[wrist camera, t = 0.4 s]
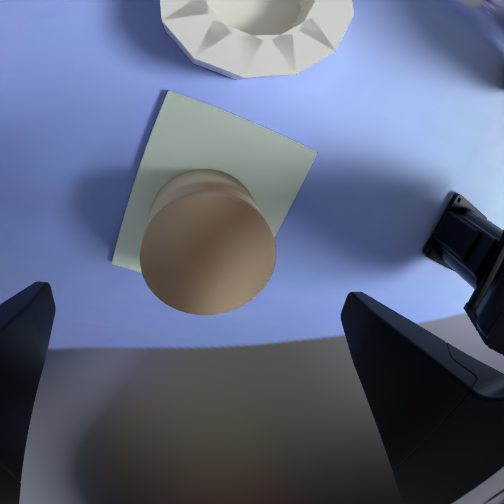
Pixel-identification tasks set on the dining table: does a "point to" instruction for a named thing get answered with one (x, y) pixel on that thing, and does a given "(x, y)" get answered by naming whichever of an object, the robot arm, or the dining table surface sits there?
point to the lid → (206, 244)
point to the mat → (212, 165)
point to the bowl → (256, 33)
